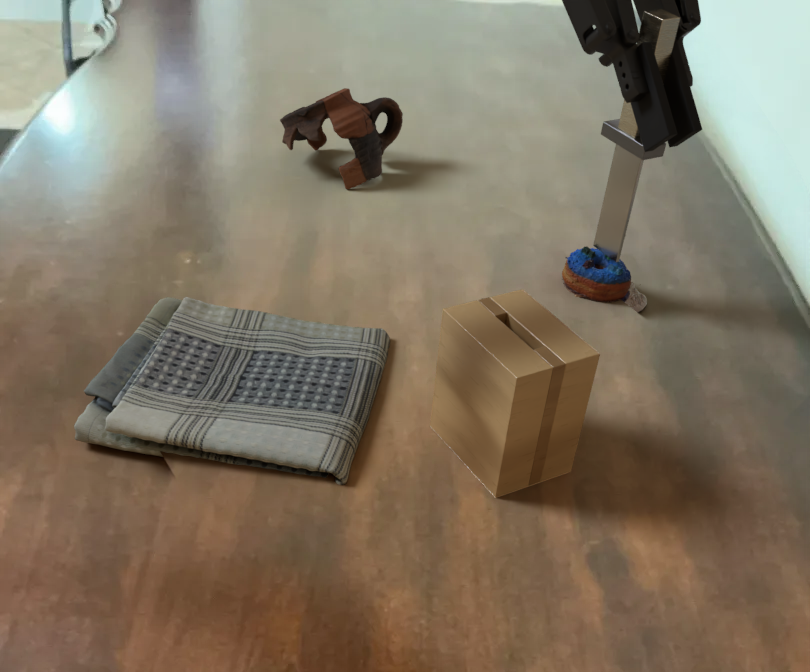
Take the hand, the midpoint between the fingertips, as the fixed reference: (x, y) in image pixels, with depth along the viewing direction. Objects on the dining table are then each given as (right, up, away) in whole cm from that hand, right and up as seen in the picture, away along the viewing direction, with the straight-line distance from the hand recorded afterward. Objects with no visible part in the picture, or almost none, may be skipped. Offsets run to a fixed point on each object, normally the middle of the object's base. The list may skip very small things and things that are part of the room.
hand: (673, 140), depth 69 cm
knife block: (-13, -23, -4) cm, 27 cm away
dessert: (-3, -8, +13) cm, 15 cm away
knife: (-3, -5, +10) cm, 12 cm away
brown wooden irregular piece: (-25, +8, +27) cm, 38 cm away
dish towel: (-30, -18, -1) cm, 35 cm away
